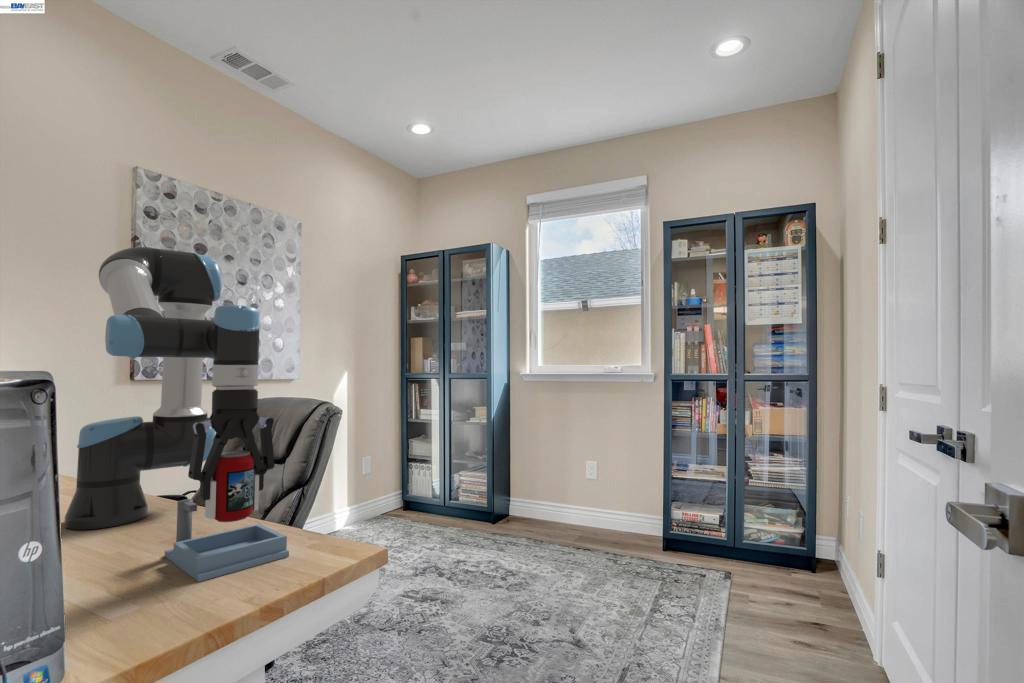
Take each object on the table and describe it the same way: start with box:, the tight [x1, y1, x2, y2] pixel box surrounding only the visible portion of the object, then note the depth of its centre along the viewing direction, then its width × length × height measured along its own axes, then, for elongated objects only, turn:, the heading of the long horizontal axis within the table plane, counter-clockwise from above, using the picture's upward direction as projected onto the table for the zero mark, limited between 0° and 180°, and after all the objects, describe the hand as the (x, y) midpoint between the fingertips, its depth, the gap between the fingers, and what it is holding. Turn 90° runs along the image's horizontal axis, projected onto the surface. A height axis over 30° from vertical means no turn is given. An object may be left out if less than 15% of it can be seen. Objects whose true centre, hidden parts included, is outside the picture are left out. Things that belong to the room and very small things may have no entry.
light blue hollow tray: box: [164, 498, 290, 583], centre depth 95 cm, size 18×15×10 cm
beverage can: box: [211, 450, 254, 523], centre depth 94 cm, size 7×7×12 cm
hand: (232, 512), depth 94 cm, fingers closed on beverage can, 7 cm apart
